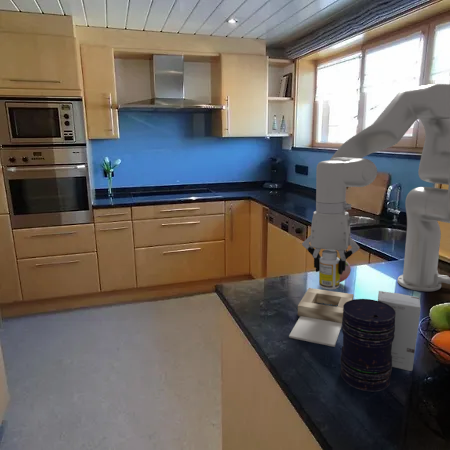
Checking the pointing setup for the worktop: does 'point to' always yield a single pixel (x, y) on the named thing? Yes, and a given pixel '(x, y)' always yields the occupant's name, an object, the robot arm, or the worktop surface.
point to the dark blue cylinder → (367, 344)
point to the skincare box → (403, 327)
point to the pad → (316, 331)
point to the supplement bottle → (329, 270)
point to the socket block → (320, 311)
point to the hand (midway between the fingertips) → (329, 270)
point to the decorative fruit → (345, 272)
